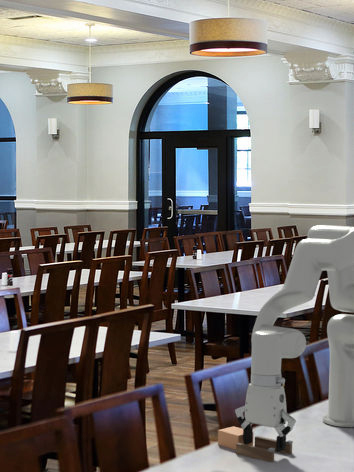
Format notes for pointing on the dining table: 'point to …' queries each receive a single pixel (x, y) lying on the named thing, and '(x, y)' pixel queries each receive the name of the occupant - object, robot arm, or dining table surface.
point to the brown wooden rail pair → (262, 449)
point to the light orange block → (231, 437)
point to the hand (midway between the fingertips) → (264, 447)
